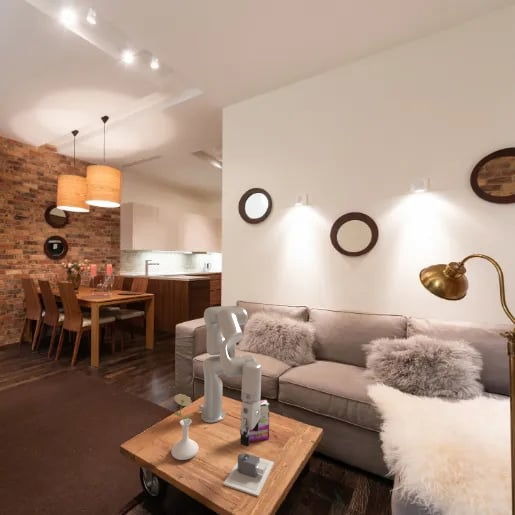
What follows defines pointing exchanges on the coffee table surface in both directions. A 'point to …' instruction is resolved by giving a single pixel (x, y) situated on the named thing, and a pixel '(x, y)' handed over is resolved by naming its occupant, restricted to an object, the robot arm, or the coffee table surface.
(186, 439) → the flower in vase
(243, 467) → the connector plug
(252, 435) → the candy bar box
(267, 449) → the coffee table surface
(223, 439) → the coffee table surface
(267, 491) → the coffee table surface
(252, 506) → the coffee table surface
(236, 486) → the white rectangular tray
